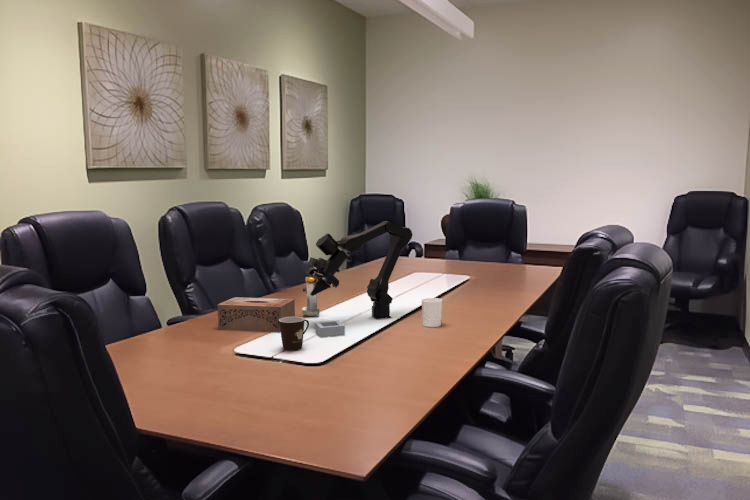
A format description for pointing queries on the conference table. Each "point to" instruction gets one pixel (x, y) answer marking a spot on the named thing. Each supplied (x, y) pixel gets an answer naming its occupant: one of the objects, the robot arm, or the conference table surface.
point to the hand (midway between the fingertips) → (308, 294)
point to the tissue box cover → (254, 313)
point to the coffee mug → (292, 332)
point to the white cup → (431, 312)
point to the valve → (305, 312)
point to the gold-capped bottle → (311, 300)
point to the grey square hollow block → (329, 328)
